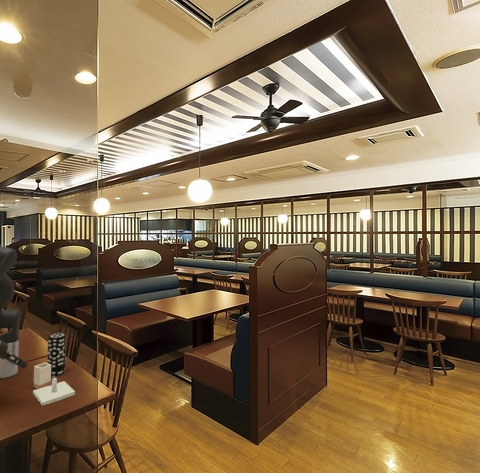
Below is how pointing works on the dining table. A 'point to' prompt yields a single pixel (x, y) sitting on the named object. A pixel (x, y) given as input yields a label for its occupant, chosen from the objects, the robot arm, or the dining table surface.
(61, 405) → the dining table surface
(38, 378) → the sleeve
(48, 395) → the pin board
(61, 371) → the spotted tube
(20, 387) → the dining table surface
